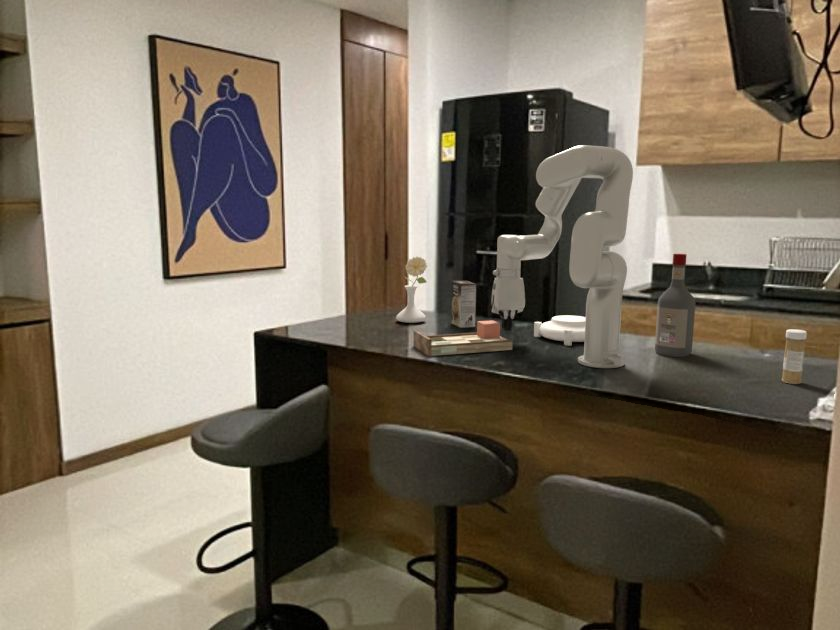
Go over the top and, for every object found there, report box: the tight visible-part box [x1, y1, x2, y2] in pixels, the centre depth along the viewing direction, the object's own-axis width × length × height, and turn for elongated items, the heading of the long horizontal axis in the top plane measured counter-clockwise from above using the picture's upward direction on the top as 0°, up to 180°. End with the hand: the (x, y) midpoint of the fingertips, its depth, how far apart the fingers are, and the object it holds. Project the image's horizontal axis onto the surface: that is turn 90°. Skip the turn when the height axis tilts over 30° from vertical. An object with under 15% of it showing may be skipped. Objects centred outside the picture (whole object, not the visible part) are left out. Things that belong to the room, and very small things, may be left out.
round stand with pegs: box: [533, 314, 586, 347], centre depth 221 cm, size 24×24×7 cm
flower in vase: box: [395, 256, 428, 324], centre depth 247 cm, size 13×11×25 cm
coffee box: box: [451, 280, 477, 329], centre depth 243 cm, size 9×6×16 cm
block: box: [476, 319, 501, 338], centre depth 212 cm, size 6×6×4 cm
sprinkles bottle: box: [781, 328, 808, 385], centre depth 167 cm, size 5×5×13 cm
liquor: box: [654, 253, 696, 358], centre depth 197 cm, size 9×9×30 cm
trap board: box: [413, 330, 513, 357], centre depth 206 cm, size 14×28×5 cm, turn 109°
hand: (506, 330), depth 214 cm, fingers closed
